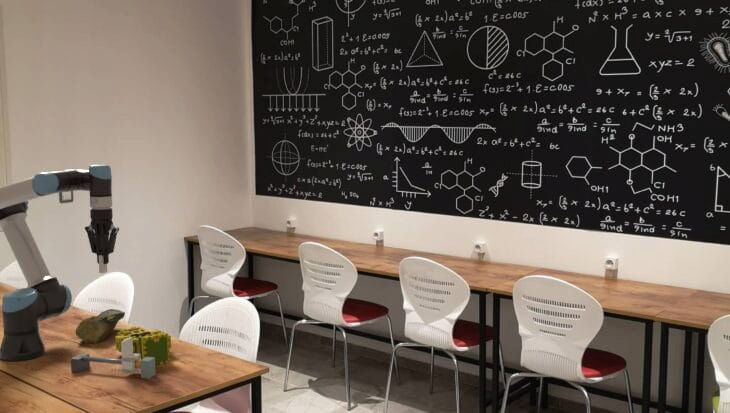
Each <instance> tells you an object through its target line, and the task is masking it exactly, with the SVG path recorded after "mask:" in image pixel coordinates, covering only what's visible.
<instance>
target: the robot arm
mask: <svg viewBox="0 0 730 413" xmlns="http://www.w3.org/2000/svg"><path fill="white" fill-rule="evenodd" d="M112 178H113V176H112V168H111V166H110V165H108V164H90V165H89V166H88V169H78V168H70V169H65V170H59V171H43V172H40V173H36V174H35V175H34V176H31V177H29V178H26V179H22V180H19V181H15V182H12V183H8V184H6V185H2V186H0V229H2V231H3V233H4V236H5V237H6V239H7V242H8V244H9V246H10V248H11V251H12V253H13V255H14V257H15V260H16V261H17V263H18V266H19V269H20V270H21V272H22V274H23V277H24V279H25V281H26V284H27V286H26V287H25V288H20V289H19V288H18V289H14V290H11V291H8V292H7V293H5V294H4V295H3V296H2V299H1V311H2V312H1V314H2V328H3V329H2V330H3V337H2V340H1V344H0V360H3V361H9V362H19V361H27V360H33V359H36V358H38V357H41V356H43V355H45V353H46V348H45V347H46V345H45V344H44V342H43V339H42V336H41V334H40V328H39V323H40V322H43V321H46V320H48V319H51V318H57V317H59V316H60V315H63V314H65V313H66V312H68V310H69V309H70V307H71V306H72V305H71V304H72V300H73V296H72V292H71V290H70V288H69V286H68V285H65V283H60V282H59V280H58V277H56V276H54V275H51V273H50V271H49V268H48V267H47V264H46V262H45V260H44V258H43V255H42V253H41V251H40V250H39V247H38V245H37V242H36V241H35V238H34V236H33V234H32V232H31V230H30V228H29V226H28V223H27V222H26V219H27V217H28V214H27V211H28V209H29V206H28V204H29V201H32V200H36V199H38V198H41V197H45V196H49V195H54V194H58V193H66V192H75V191H84V192H85V191H86V192H87V191H88V192H89V207H90V208H91V209H90V210H89V212H90V214H89V217H90V219H91V221H90V223H89V225H87V226H85V227H84V230H85V232H86V233H87V238H88V241H89V246H90V250H91V253H93V254H95V255H96V263H97V264H98V270H99V271H98V273H99V274H105V273H108V264H109V261H110V259H109V255H110V254H113V253H114V250H115V248H116V247H115V245H116V239H117V235H118V232H119V231H120V228H119V227H117V226H115V225H114V222H113V216H114V215H113V208H112V207H113V196H112V195H113V193H112V191H113V190H112V188H113V187H112V183H113V182H112Z"/></svg>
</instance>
